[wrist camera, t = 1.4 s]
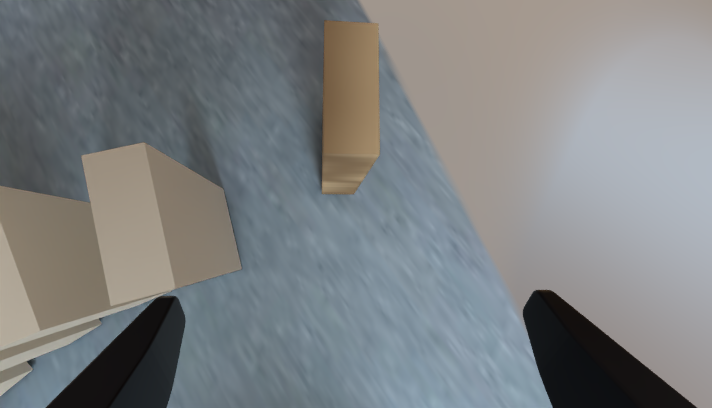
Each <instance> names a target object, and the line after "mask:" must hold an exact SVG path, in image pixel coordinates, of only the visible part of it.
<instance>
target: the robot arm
mask: <svg viewBox="0 0 712 408" xmlns="http://www.w3.org/2000/svg"><path fill="white" fill-rule="evenodd" d="M523 318H524V322H525V325H526V329H527V332H528V336H529V339H530V343H531V346H532V350H533V353H534V357H535V360H536V364H537V367H538V370H539V373H540V376H541V379H542V381H543V384H544V387H545V389H546V392H547V394H548V397H549V399H550V402H551V404H552V407H553V408H697V407H696V406H694V405H693V404H692V403H691V402H689V401H688V400H687V399H685V398H684V397H683V396H682V395H681V394H679V393H678V392H677V391H676V390H675V389H673V388H672V387H671V386H669V385H668V384H667V383H666V382H665V381H663V380H662V379H661V378H660V377H658V376H657V375H656V374H655V373H653V372H652V371H651V370H650V369H649V368H647V367H646V366H645V365H643V364H642V363H641V362H640V361H639V360H637V359H636V358H635V357H633V356H632V355H631V354H630V353H629V352H627V351H626V350H625V349H624V348H623V347H621V346H620V345H619V344H617V343H616V342H615V341H614V340H612V339H611V338H610V337H609V336H608V335H606V334H605V333H604V332H603V331H601V330H600V329H599V328H598V327H596V326H595V325H594V324H593V323H592V322H590V321H589V320H588V319H587V318H585V317H584V316H583V315H582V314H580V313H579V312H578V311H577V310H575V309H574V308H573V307H572V306H571V305H569V304H568V303H567V302H565V301H564V300H563V299H562V298H561V297H559V296H558V295H557V294H556V293H554V292H553V291H551V290H536V291H534V292H533V293H532V295H531V296H530V298H529V300H528V301H527V303H526V305H525V307H524V309H523ZM184 328H185V315H184V312H183V309H182V307H181V304H180V302H179V299H178V298H177V297H176V296H160V297H158V298H156V299H155V300H154V301H153V302H152V303H151V304H150V305H149V306H148V307H147V308H146V309H145V310H144V311H143V312H142V313H141V314H140V315H139V316H138V317H137V318H136V319H135V320H134V321H133V322H132V323H131V324H130V325H129V326H128V327H127V328H126V329H125V330H124V331H122V332H121V333H120V334H119V335H118V336H117V337H116V338H115V339H114V340H113V341H112V342H111V343H110V344H109V345H108V346H107V347H106V348H105V349H104V350H103V351H102V352H101V353H100V354H99V355H98V356H97V357H96V358H95V359H94V360H93V361H92V362H91V363H90V364H89V365H88V366H87V367H86V368H85V369H84V370H83V371H82V372H81V373H80V374H79V375H78V376H77V377H76V378H75V379H74V380H73V381H72V382H71V383H70V384H69V385H68V386H67V387H66V388H65V389H64V390H63V391H62V392H61V393H60V394H59V395H58V396H57V397H56V398H55V399H54V400H53V401H52V402H51V403H50V404H49V405H48V406H47V407H46V408H166V407H167V404H168V401H169V398H170V394H171V391H172V387H173V383H174V378H175V373H176V368H177V363H178V358H179V353H180V348H181V343H182V338H183V333H184Z"/></svg>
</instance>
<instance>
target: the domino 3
mask: <svg viewBox="0 0 712 408" xmlns="http://www.w3.org/2000/svg"><path fill="white" fill-rule="evenodd" d="M81 157H82V162H83V168H84V173H85V178H86V183H87V188H88V193H89V198H90V203H91V208H92V213H93V218H94V223H95V228H96V233H97V239H98V244H99V249H100V254H101V259H102V264H103V269H104V274H105V279H106V284H107V289H108V294H109V299H110V304H111V306H113V305H117V304H121V303H124V302H128V301H132V300H136V299H139V298H143V297H147V296H151V295H154V294H158V293H162V292H166V291H169V290H173V289H177V288H180V287H184V286H187V285H190V284H194V283H197V282H200V281H204V280H207V279H210V278H214V277H217V276H221V275H224V274H227V273H231V272H234V271H237V270H241V269H242V267H241V263H240V258H239V254H238V250H237V246H236V241H235V237H234V233H233V228H232V224H231V220H230V215H229V211H228V207H227V202H226V198H225V194H224V189H222V188H221V187H219V186H217V185H216V184H214V183H212V182H211V181H209V180H207V179H206V178H204V177H202V176H200V175H199V174H197V173H195V172H194V171H192V170H190V169H189V168H187V167H185V166H184V165H182V164H180V163H179V162H177V161H175V160H173V159H172V158H170V157H168V156H167V155H165V154H163V153H162V152H160V151H158V150H157V149H155V148H153V147H152V146H150V145H148V144H146V143H145V142H143V143H138V144H133V145H129V146H124V147H119V148H115V149H110V150H105V151H101V152H96V153H91V154H87V155H82V156H81Z"/></svg>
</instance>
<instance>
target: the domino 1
mask: <svg viewBox="0 0 712 408" xmlns="http://www.w3.org/2000/svg"><path fill="white" fill-rule="evenodd" d="M32 370H33V369H32V367H31V366H30V365H29V364H28V363H27V361H25V362H23V363H20V364H18V365H15V366H13V367H10V368H8V369H5V370H3V371H0V396H1V395H2V394H4V393H5V392H6V391H7V390H9V389H10V388H11V387H12V386H13V385H15V384H16V383H17V382H18V381H20V380H21V379H22V378H23V377H24V376H26V375H27V374H28V373H29V372H31V371H32Z"/></svg>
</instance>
